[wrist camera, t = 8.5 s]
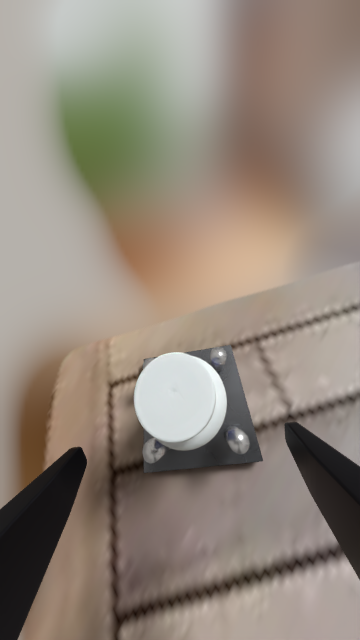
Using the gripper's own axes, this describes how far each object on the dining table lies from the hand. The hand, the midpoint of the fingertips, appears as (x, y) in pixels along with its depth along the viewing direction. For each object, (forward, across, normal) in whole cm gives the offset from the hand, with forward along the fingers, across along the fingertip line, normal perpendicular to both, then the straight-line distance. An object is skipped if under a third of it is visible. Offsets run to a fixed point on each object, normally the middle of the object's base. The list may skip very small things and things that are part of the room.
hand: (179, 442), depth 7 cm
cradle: (+9, 0, +6) cm, 11 cm away
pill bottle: (+8, 0, +5) cm, 10 cm away
